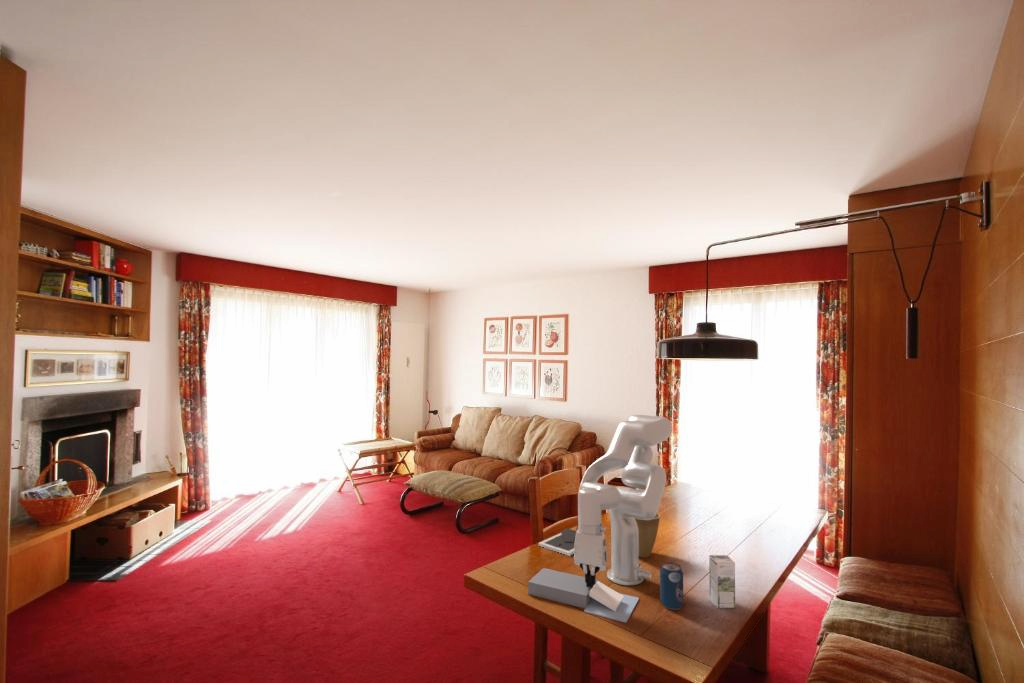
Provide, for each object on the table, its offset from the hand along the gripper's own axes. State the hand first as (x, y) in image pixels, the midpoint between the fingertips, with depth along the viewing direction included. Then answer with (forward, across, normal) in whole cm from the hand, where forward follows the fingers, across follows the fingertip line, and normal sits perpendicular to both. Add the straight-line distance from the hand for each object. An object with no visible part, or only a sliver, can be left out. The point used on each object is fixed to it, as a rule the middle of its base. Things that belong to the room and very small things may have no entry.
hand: (590, 585), depth 153 cm
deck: (+4, +9, 0) cm, 10 cm away
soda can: (+5, -24, -9) cm, 26 cm away
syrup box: (+5, -38, -17) cm, 42 cm away
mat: (+4, -7, 0) cm, 8 cm away
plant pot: (+5, -5, -45) cm, 46 cm away
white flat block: (+3, -5, +1) cm, 6 cm away
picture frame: (+6, +24, -41) cm, 48 cm away
